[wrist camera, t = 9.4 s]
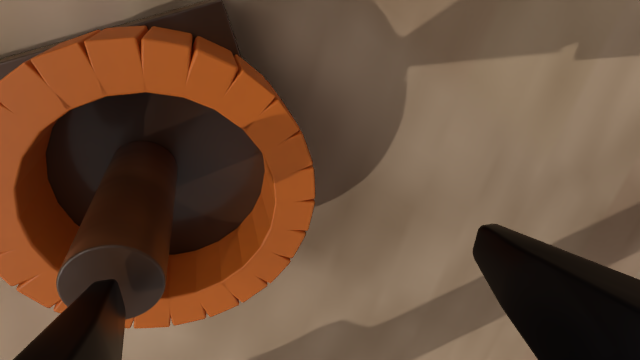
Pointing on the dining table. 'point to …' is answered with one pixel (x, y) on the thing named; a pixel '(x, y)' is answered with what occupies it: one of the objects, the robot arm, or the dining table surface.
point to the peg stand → (148, 175)
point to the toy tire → (167, 79)
